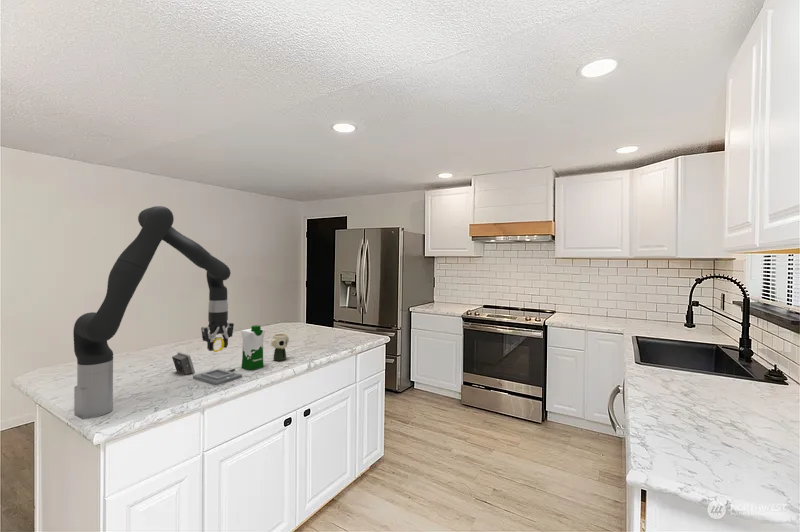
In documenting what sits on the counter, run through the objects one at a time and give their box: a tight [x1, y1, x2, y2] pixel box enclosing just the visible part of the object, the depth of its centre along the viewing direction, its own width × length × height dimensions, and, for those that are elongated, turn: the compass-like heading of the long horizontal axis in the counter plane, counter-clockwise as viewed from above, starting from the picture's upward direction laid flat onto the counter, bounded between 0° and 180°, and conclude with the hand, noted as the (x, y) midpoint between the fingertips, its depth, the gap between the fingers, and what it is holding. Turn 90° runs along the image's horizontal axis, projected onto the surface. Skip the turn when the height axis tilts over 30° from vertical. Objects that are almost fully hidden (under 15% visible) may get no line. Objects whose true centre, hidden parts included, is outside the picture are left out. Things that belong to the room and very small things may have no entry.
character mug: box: [270, 332, 290, 361], centre depth 188 cm, size 11×7×13 cm, turn 149°
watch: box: [212, 336, 225, 353], centre depth 159 cm, size 6×3×6 cm, turn 160°
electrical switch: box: [171, 351, 196, 376], centre depth 164 cm, size 9×5×9 cm, turn 57°
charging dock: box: [192, 368, 243, 386], centre depth 162 cm, size 17×16×2 cm
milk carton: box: [240, 324, 266, 371], centre depth 175 cm, size 9×9×20 cm
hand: (217, 348), depth 159 cm, fingers closed on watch, 6 cm apart
